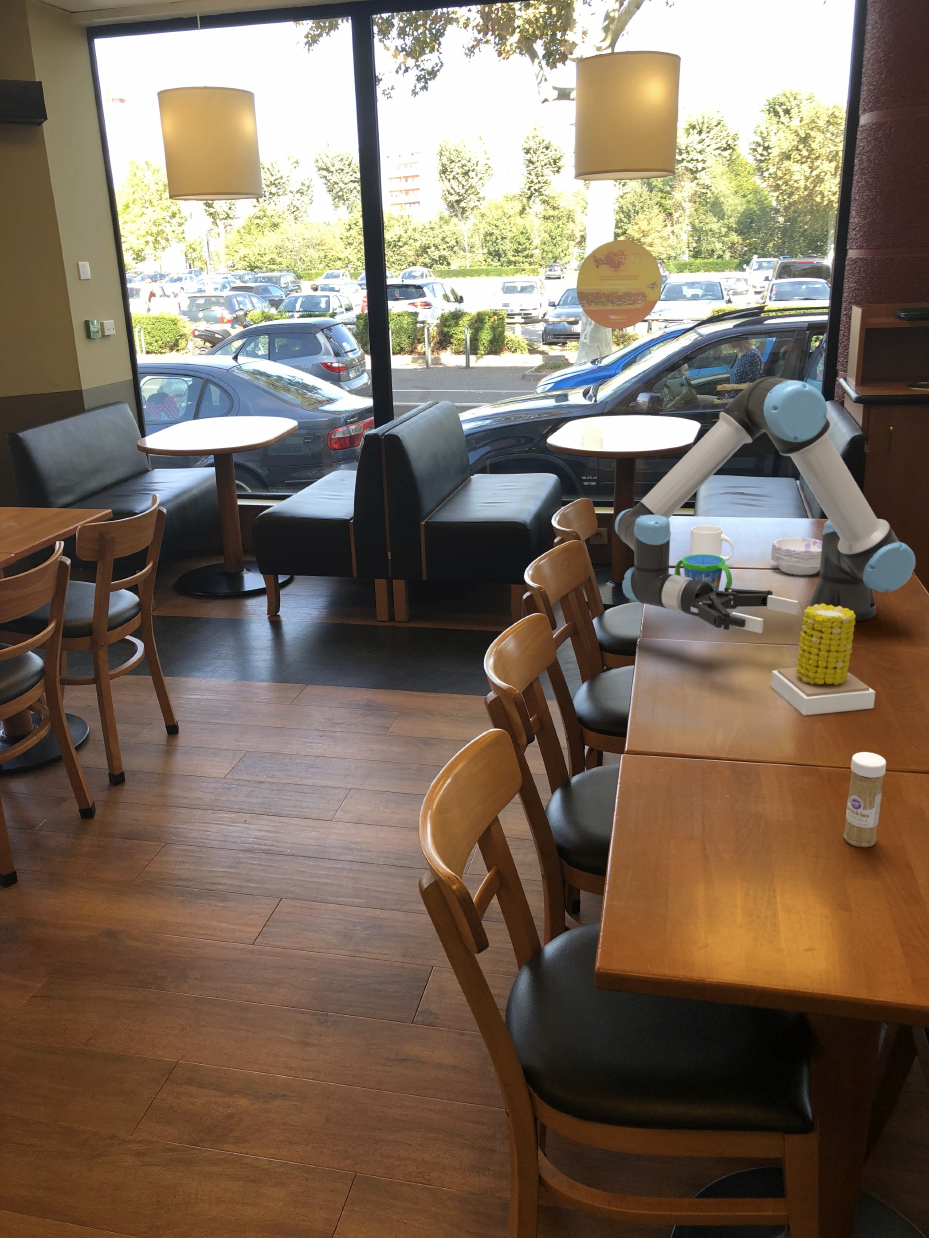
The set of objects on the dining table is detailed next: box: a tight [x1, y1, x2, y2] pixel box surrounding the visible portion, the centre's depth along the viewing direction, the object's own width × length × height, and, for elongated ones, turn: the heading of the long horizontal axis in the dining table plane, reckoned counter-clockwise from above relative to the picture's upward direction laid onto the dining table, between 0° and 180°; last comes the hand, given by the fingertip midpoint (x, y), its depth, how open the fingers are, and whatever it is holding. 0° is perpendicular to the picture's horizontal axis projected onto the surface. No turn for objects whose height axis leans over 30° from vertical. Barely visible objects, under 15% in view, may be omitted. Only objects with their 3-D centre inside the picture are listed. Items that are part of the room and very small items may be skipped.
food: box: [796, 603, 856, 685], centre depth 186 cm, size 15×12×10 cm
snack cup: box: [673, 554, 733, 592], centre depth 248 cm, size 16×10×10 cm
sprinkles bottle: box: [843, 751, 887, 848], centre depth 140 cm, size 5×5×13 cm
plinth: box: [770, 666, 876, 716], centre depth 189 cm, size 14×14×4 cm
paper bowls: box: [770, 536, 822, 576], centre depth 267 cm, size 15×15×8 cm
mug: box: [689, 524, 735, 562], centre depth 274 cm, size 9×12×11 cm
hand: (780, 617), depth 191 cm, fingers open, 13 cm apart
